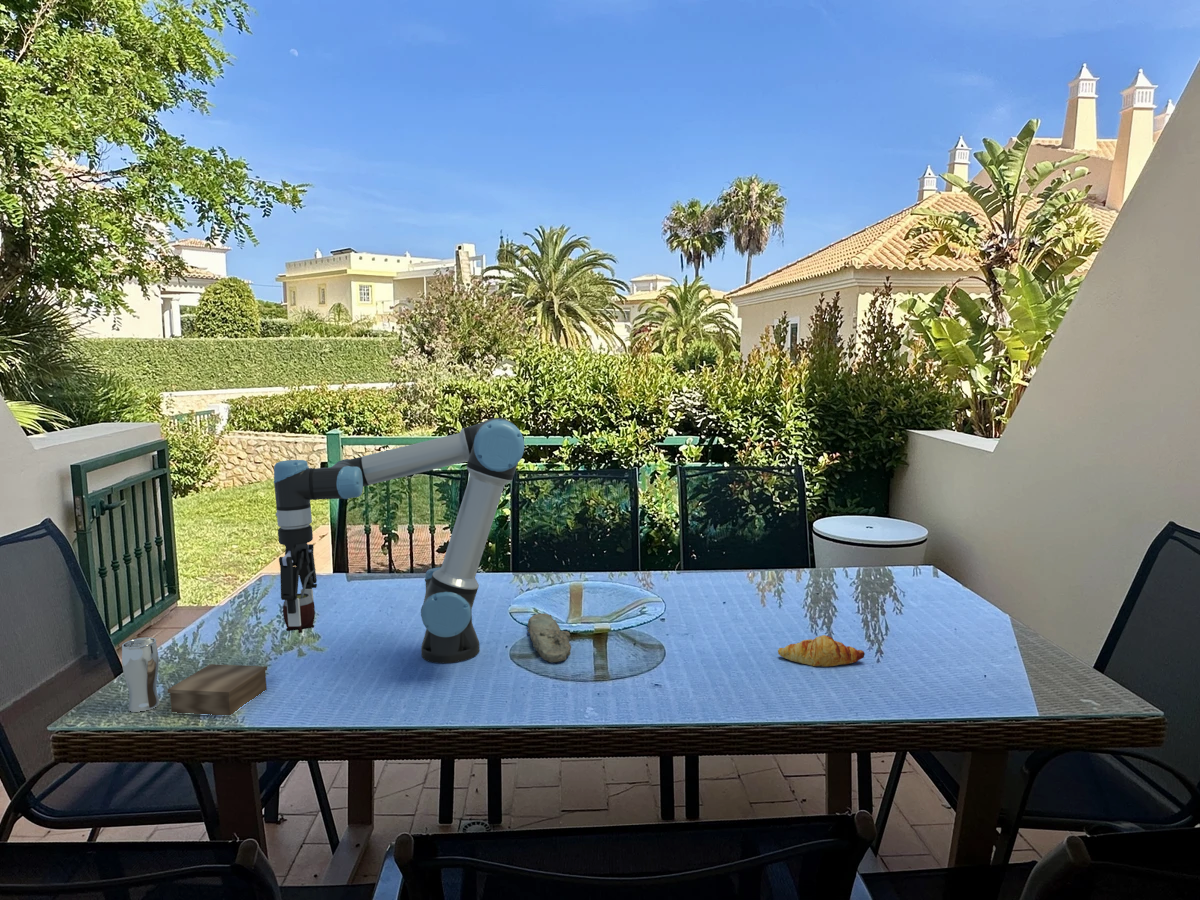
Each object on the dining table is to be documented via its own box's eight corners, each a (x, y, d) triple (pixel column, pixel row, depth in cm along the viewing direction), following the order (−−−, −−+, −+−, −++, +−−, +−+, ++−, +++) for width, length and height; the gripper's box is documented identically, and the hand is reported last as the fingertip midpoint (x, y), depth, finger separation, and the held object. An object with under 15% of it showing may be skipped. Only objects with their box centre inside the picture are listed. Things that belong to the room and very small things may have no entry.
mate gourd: (285, 626, 184) (280, 565, 183) (319, 621, 187) (315, 562, 186) (284, 636, 177) (279, 573, 176) (320, 631, 180) (315, 569, 179)
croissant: (778, 676, 193) (778, 654, 189) (776, 645, 201) (776, 624, 197) (866, 678, 189) (868, 657, 185) (860, 647, 197) (862, 626, 193)
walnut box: (268, 690, 181) (266, 666, 180) (230, 718, 166) (228, 692, 166) (211, 688, 183) (209, 664, 182) (169, 715, 168) (167, 689, 168)
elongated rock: (556, 624, 228) (523, 629, 226) (554, 607, 228) (521, 612, 226) (578, 661, 194) (539, 667, 192) (576, 641, 194) (538, 647, 192)
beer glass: (168, 699, 176) (163, 636, 174) (151, 713, 169) (146, 647, 167) (137, 700, 175) (132, 637, 174) (119, 714, 168) (113, 648, 167)
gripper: (297, 517, 190) (304, 607, 192) (258, 535, 170) (266, 635, 172) (327, 517, 189) (333, 607, 192) (291, 534, 170) (299, 634, 172)
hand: (301, 620), depth 182 cm, fingers closed on mate gourd, 7 cm apart
